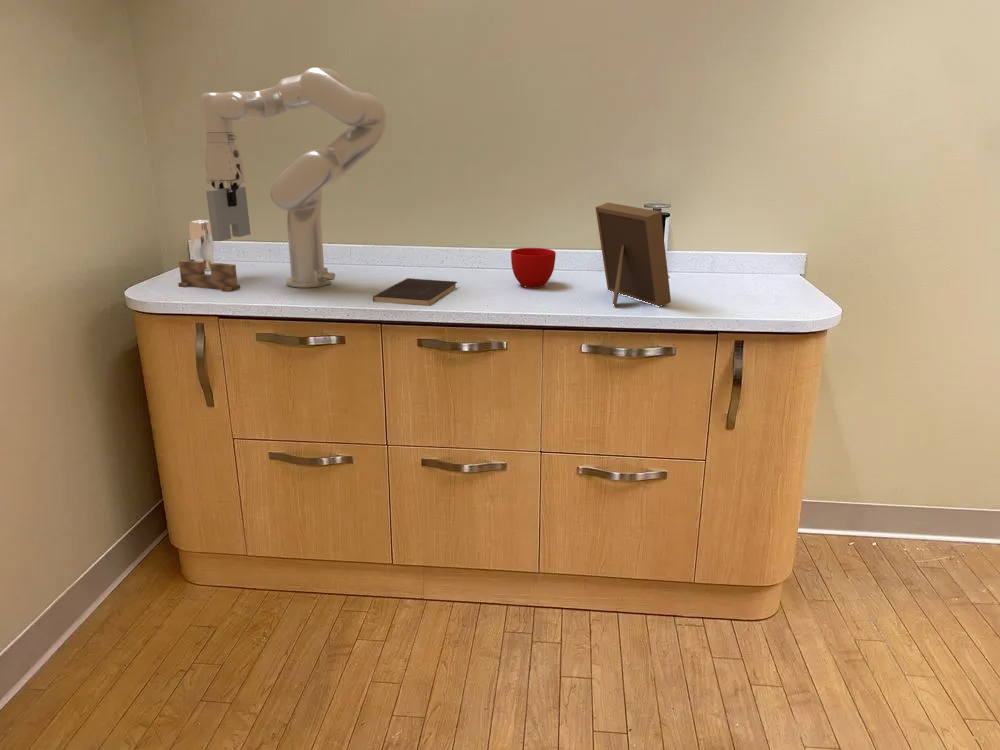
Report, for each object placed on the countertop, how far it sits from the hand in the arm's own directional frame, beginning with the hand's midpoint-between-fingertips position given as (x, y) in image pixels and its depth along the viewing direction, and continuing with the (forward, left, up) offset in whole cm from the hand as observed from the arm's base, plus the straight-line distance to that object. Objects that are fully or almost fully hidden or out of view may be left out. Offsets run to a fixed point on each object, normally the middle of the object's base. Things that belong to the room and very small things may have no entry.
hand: (228, 205), depth 220 cm
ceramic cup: (-84, -29, -22) cm, 91 cm away
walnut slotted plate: (0, +11, -22) cm, 24 cm away
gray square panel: (0, 0, -9) cm, 9 cm away
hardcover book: (-58, -4, -23) cm, 62 cm away
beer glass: (+19, -10, -22) cm, 31 cm away
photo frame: (-113, -19, -22) cm, 116 cm away
